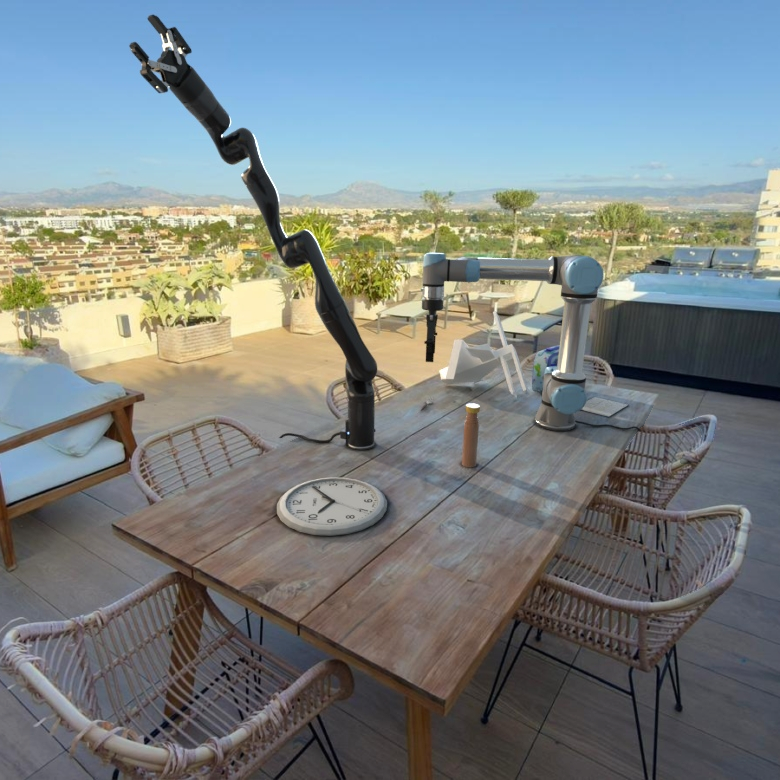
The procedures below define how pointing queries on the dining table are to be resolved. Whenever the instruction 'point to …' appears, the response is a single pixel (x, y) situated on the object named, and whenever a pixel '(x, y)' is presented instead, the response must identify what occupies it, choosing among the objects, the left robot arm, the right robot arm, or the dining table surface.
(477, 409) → the cap
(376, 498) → the wall clock
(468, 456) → the bottle
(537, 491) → the dining table surface
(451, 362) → the white plastic object
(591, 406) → the invitation card
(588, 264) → the right robot arm
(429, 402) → the fork
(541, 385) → the lunch box
